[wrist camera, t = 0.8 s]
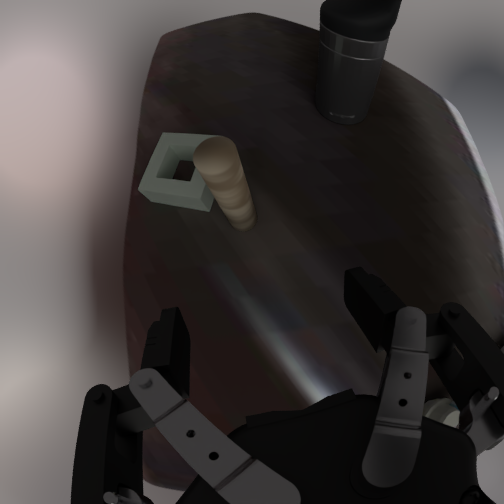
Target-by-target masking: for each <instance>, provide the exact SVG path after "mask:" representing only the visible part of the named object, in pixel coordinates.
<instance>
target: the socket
mask: <svg viewBox="0 0 504 504" xmlns="http://www.w3.org/2000/svg"><path fill="white" fill-rule="evenodd" d="M211 137H215V136H214V135H201V134H184V133H163V134H162V136H161V138H160V140H159V142H158V144H157V146H156V148H155V151H154V153H153V155H152V157H151V159H150V162H149V164H148V166H147V169H146V171H145V173H144V176H143V178H142V180H141V183H140V185H139V188H138V190H139V191H140V192H141V193H142V194H143V195H144V196H146V197H147V198H148V199H149V200H150V201H151V202H156V203H162V204H168V205H174V206H180V207H185V208H191V209H197V210H202V211H208V212H210V209H211V206H212V203H213V200H214V196H213V194H212V193H211V191H210V189H209V188H208V186H207V185H206V183H205V181H204V180H203V178H202V176H201V175H200V173H199V171H198V170H197V168H195V171H194V173H193V176H192V179H191V181H190V182H189V181H181V180H174V179H172V178H173V176H174V173H175V171H176V168H177V166H178V163H179V161H180V160H185V161H193V154H194V151H195V149H196V148H197V146H198V145H199V144H200V143H201V142H203V141H204V140H206V139H208V138H211ZM222 137H223V136H222Z"/></svg>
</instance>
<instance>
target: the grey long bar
mask: <svg viewBox="0 0 504 504" xmlns="http://www.w3.org/2000/svg"><path fill="white" fill-rule="evenodd" d="M501 351H502V352H503V353H504V346H503V347H502V348H501ZM459 414H460V411H459V409H458V408H457V406H456V404H455V402H454V401H452V400H450V399H448V398H442V399H434V400H429V401H427V402H426V403H425V404H424V408H423V414H422V415H423V416H425V417H428V418H430V419H433V420H436V421H438V422H441V423H443V424H446V425H449V426H452V427H454V428H455V427H456V426H457V424H458V423H459Z"/></svg>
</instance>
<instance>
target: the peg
mask: <svg viewBox="0 0 504 504" xmlns="http://www.w3.org/2000/svg"><path fill="white" fill-rule="evenodd" d="M193 162H194V165H195V166H196V168H197V170H198V171H199V173H200V175H201V176H202V178H203V180H204V181H205V183H206V185H207V186H208V188H209V189H210V191H211V193H212V194H213V196H214V198H215V199H216V201H217V203H218V204H219V206H220V207H221V209H222V211H223V212H224V214H225V216H226V217H227V219H228V221H229V222H230V224H231V225H232V227H233V228H234V229H235V230H237V231H241V232H245V231H248V230H251V229H252V228H253V227H254V226H255V225H256V223H257V213H256V210H255V206H254V203H253V200H252V197H251V193H250V190H249V187H248V184H247V181H246V177H245V174H244V171H243V168H242V165H241V161H240V158H239V155H238V152H237V149H236V146H235V144H234V142H233V141H232V140H230V139H229V138H226V137H222V136H215V137H211V138H208V139H206V140H204V141H203V142H201V143H200V144H199V145H198V146H197V148H196V149H195V151H194V154H193Z"/></svg>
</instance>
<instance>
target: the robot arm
mask: <svg viewBox="0 0 504 504" xmlns="http://www.w3.org/2000/svg"><path fill="white" fill-rule="evenodd" d="M401 1H402V0H326V1H324V2H323V4H322V5H321V8H320V34H319V36H320V37H319V57H318V74H317V86H316V100H315V103H316V107H317V109H318V111H319V112H320V113H321V114H322V115H323V116H324V117H326V118H327V119H329V120H331V121H333V122H336V123H339V124H356V123H359V122H361V121H362V120H364V118H365V117H366V115H367V112H368V109H369V106H370V103H371V100H372V97H373V93H374V90H375V87H376V83H377V80H378V76H379V73H380V69H381V66H382V62H383V59H384V55H385V50H386V46H387V43H388V39H389V35H390V31H391V29H392V27H393V25H394V24H395V22H396V19H397V16H398V12H399V8H400V4H401ZM344 301H345V305H346V307H347V309H348V310H349V312H350V313H351V315H352V316H353V318H354V319H355V321H356V322H357V324H358V325H359V327H360V328H361V330H362V331H363V333H364V334H365V336H366V337H367V339H368V340H369V342H370V343H371V345H372V346H373V348H374V350H375V351H376V353H378V352H380V351H383V350H385V351H386V352H387V355H386V359H385V363H384V368H383V373H382V377H381V381H380V385H379V389H378V392H377V395H376V396H373V395H364V394H363V395H355V394H354V392H353V390H352V388H351V389H349V390H346V391H343V392H340V393H337V394H334V395H331V396H327V397H326V398H324V399H322V400H320V401H319V402H317V403H315V404H313V405H311V406H309V407H307V408H306V409H303V410H297V411H271V412H266V413H261V414H256V415H251V416H246V422H247V424H244V425H242V426H240V427H238V428H237V429H235V430H234V431H232V432H231V433H230V434H229V435H227V436H225V435H224V434H223V433H222V432H221V431H220V430H219V429H217V428H216V427H215V426H214V425H213V424H212V423H211V422H210V421H208V420H207V419H206V418H205V417H204V416H203V415H202V414H201V413H200V412H199V411H198V410H197V409H196V408H195V407H194V406H193V405H192V404H191V403H190V402H188V401H187V400H186V399H185V398H189V384H190V336H189V332H188V329H187V327H186V324H185V322H184V320H183V317H182V315H181V312H180V310H179V308H178V307H174V308H168V309H163V310H162V312H161V317H160V321H156V322H154V323H153V324H152V325H151V327H150V328H149V330H148V334H147V340H146V344H145V345H146V346H145V348H144V353H143V358H142V364H141V369H140V370H139V371H138V372H136V373H135V374H134V375H133V376H132V377H131V379H130V382H129V384H128V385H126V386H123V387H121V388H118V389H115V390H111V388H110V387H109V386H107V385H104V384H99V385H96V386H94V387H92V388H91V389H90V390H89V391H88V392H87V394H86V396H85V401H84V405H83V410H82V415H81V420H80V425H79V431H78V437H77V443H76V450H75V458H74V466H73V476H72V490H71V504H154V503H153V502H152V501H151V500H150V499H149V498H148V497H146V496H144V495H143V469H142V440H143V430H146V429H149V428H152V427H155V426H156V427H157V428H158V429H159V431H160V432H161V433H162V434H163V435H164V437H165V438H166V439H167V440H168V441H169V443H170V444H171V445H172V446H173V447H174V448H175V449H176V451H177V452H178V453H179V454H180V455H181V456H182V457H183V458H184V459H185V460H186V461H187V462H188V464H189V465H190V466H191V467H192V468H193V469H194V470H195V471H196V472H197V473H198V475H197V477H196V478H195V479H194V481H193V482H192V483H191V484H190V486H189V487H188V488H187V490H186V491H185V492H184V494H183V495H182V496H181V497H180V499H179V500H178V501H177V502H176V504H496V503H495V502H494V501H492V500H491V499H490V498H489V497H488V496H487V495H486V494H485V493H484V492H483V491H482V490H481V488H480V487H479V484H478V479H477V471H476V461H477V456H478V455H479V454H480V453H482V452H483V451H485V450H490V449H492V448H493V447H495V446H496V445H497V444H498V443H500V442H501V441H502V440H503V439H504V353H503V352H502V351H501V350H500V348H499V347H498V346H497V345H496V343H495V342H494V341H493V340H492V339H491V337H490V336H489V335H488V334H487V333H486V332H485V330H484V329H483V328H482V327H481V326H480V325H479V324H478V322H477V321H476V320H475V319H474V318H473V317H472V316H471V315H470V314H469V313H468V311H467V310H466V309H465V308H464V307H463V306H461V305H460V304H457V303H453V302H449V303H445V304H444V305H443V306H442V307H441V310H440V313H435V314H426V315H425V314H424V312H423V311H421V310H420V309H418V308H415V307H407V306H406V305H405V304H404V303H403V302H402V301H401V300H400V299H399V298H398V296H397V295H396V294H395V293H394V292H393V291H391V289H390V288H389V287H388V286H386V284H385V283H384V282H383V281H382V279H381V278H379V277H377V276H375V275H373V274H369V275H368V274H367V273H366V272H365V271H364V269H363V268H362V267H356V268H353V269H349V270H346V271H345V276H344ZM455 345H456V346H457V348H458V349H459V350H460V352H461V353H462V355H463V357H464V360H463V359H462V357H461V356H460V355H459V353H458V352H457V351H456V349H455V348H454V347H455ZM428 360H429V362H430V364H431V365H432V367H433V368H434V370H435V371H436V373H437V374H438V376H439V378H440V379H441V381H442V382H443V384H444V386H445V387H446V389H447V391H448V392H449V394H450V396H451V397H452V399H453V401H454V402H455V404H456V406H457V408H458V409H459V411H460V414H459V429H457V428H454V427H452V426H449V425H446V424H443V423H441V422H438V421H436V420H433V419H430V418H428V417H425V416H423V415H422V414H423V408H424V401H425V393H426V384H427V374H428ZM184 399H185V400H184Z"/></svg>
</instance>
